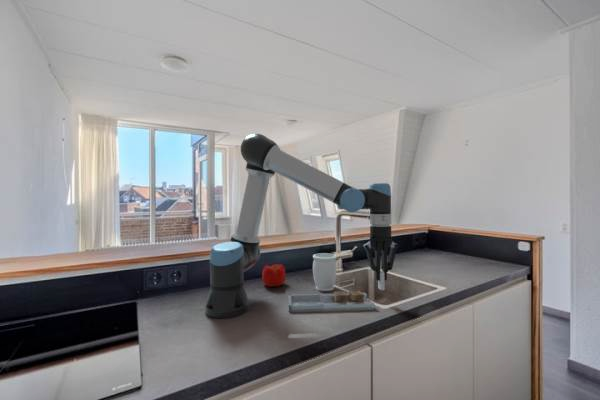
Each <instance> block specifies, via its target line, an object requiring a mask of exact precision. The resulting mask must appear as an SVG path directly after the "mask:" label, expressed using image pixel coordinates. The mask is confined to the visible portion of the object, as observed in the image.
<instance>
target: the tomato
mask: <svg viewBox="0 0 600 400" xmlns="http://www.w3.org/2000/svg"><path fill="white" fill-rule="evenodd" d="M261 272H262V273H261V274H262V275H261V278H262V282H263V284H264V285H265V286H267V287H269V288H272V287H279V286H282V285H283V284H284V283H285V282H286V277H287V276H286V268H285V267H284V265H283V264H280V263H279V264H276V263H275V264H272V265H267V264H266V265H265V266H264V267H263V269H262V271H261Z"/></svg>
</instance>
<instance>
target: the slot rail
mask: <svg viewBox="0 0 600 400" xmlns="http://www.w3.org/2000/svg"><path fill="white" fill-rule="evenodd" d="M345 293H346V295H347V302H342V303H334V293H304V294H303V293H302V294H301V293H299V294H296V293H295V294H288V298H287V300H288V302H287V303H288V304H287V305H288V312H289V313H305V312H308V313H311V312H344V311H375V310H376V309H375V302H373V301H369V300H368V294H367V293H366V292H362V293H363V294H364V302H349V292H348V293H347V292H345Z"/></svg>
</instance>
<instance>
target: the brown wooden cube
mask: <svg viewBox="0 0 600 400" xmlns="http://www.w3.org/2000/svg"><path fill="white" fill-rule="evenodd" d="M348 293H349V302H364V294H363V293H364V292H361V291H360V290H351V291H348Z"/></svg>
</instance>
